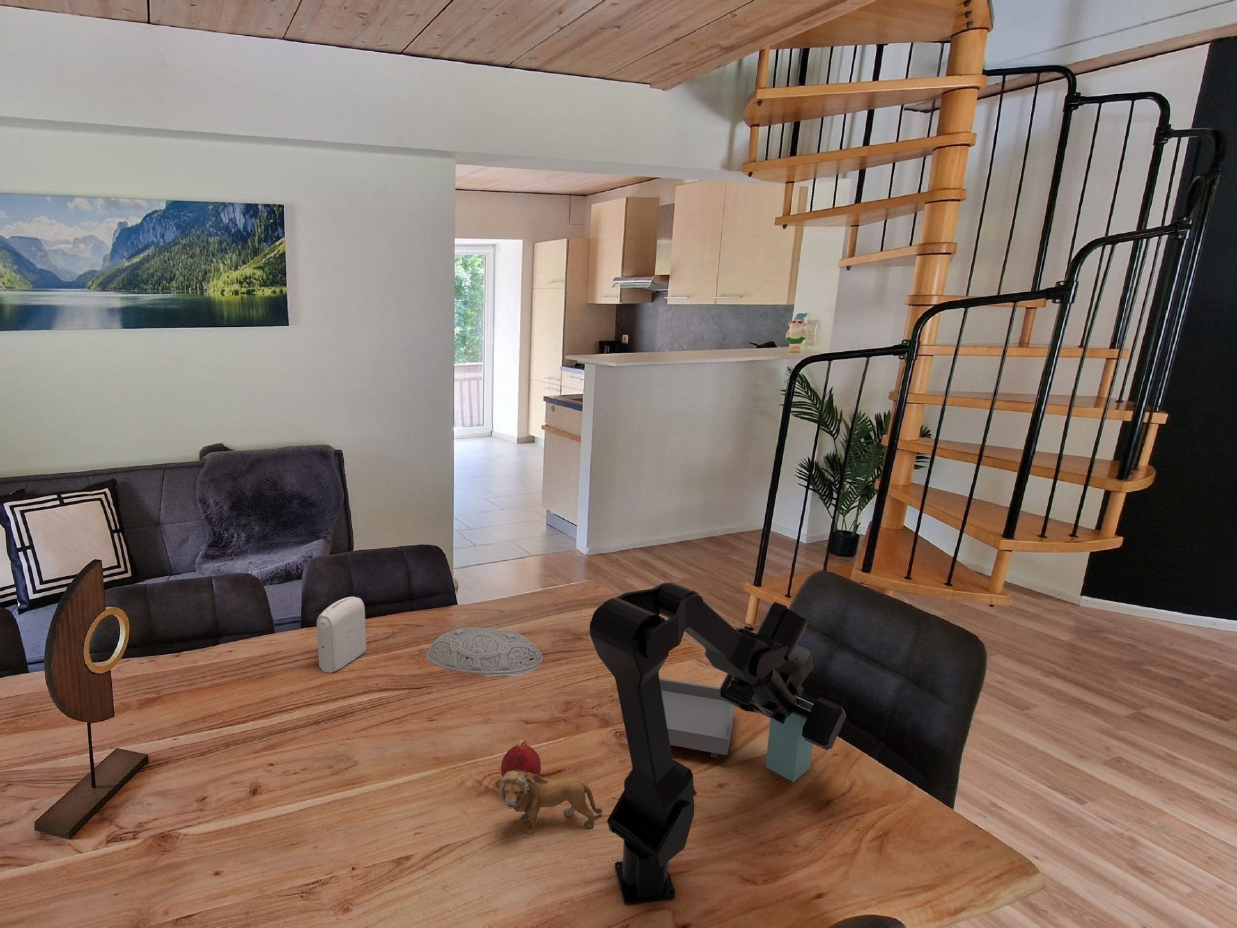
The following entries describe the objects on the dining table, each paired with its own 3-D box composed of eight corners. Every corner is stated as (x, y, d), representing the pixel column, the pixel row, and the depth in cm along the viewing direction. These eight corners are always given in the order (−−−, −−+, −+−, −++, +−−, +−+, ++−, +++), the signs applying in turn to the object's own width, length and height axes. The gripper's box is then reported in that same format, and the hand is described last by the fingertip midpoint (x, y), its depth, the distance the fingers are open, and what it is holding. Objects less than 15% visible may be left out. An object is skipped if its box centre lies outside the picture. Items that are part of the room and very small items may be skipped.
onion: (533, 805, 107) (534, 756, 105) (494, 798, 108) (495, 749, 106) (545, 780, 113) (546, 733, 111) (508, 774, 114) (509, 727, 112)
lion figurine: (501, 847, 99) (502, 787, 97) (494, 820, 104) (495, 763, 102) (607, 826, 104) (610, 769, 102) (596, 801, 109) (598, 746, 106)
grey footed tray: (726, 766, 117) (728, 739, 116) (631, 748, 121) (633, 722, 120) (734, 714, 132) (737, 690, 131) (650, 700, 135) (651, 676, 134)
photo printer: (334, 675, 140) (331, 613, 137) (315, 670, 141) (312, 609, 138) (369, 651, 149) (367, 593, 146) (352, 647, 150) (349, 589, 148)
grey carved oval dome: (538, 680, 141) (537, 645, 140) (409, 674, 143) (408, 640, 143) (554, 650, 156) (554, 619, 155) (438, 645, 159) (437, 614, 158)
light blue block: (793, 781, 115) (800, 717, 112) (765, 767, 118) (771, 704, 116) (809, 768, 118) (817, 705, 116) (782, 754, 122) (788, 692, 119)
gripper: (847, 658, 104) (873, 701, 114) (736, 614, 116) (768, 657, 127) (813, 731, 100) (843, 768, 110) (701, 678, 112) (738, 716, 123)
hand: (796, 723), depth 118 cm, fingers open, 9 cm apart
